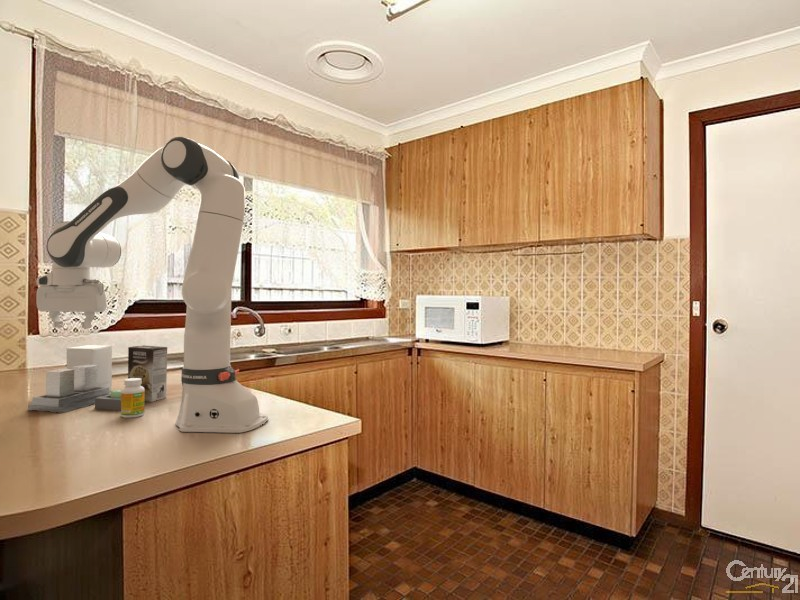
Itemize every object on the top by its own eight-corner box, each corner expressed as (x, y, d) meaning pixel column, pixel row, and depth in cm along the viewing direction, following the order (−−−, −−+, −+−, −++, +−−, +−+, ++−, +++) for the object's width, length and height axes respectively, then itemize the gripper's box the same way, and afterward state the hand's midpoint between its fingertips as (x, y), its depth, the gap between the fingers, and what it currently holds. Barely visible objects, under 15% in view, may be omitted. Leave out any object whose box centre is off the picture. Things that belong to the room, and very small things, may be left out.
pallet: (112, 398, 140) (113, 364, 139) (61, 412, 123) (61, 374, 123) (82, 396, 142) (82, 362, 142) (28, 410, 125) (28, 371, 125)
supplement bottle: (133, 418, 119) (134, 381, 119) (115, 417, 120) (116, 380, 120) (148, 413, 124) (149, 378, 124) (131, 412, 125) (132, 376, 125)
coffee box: (126, 400, 139) (126, 347, 138) (143, 395, 145) (143, 344, 145) (151, 402, 136) (152, 348, 136) (167, 397, 143) (168, 346, 142)
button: (129, 400, 133) (130, 390, 133) (118, 403, 129) (119, 392, 129) (118, 399, 133) (118, 389, 133) (106, 402, 129) (106, 392, 129)
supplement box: (112, 390, 151) (113, 345, 151) (91, 396, 142) (92, 348, 142) (87, 389, 152) (88, 344, 152) (65, 395, 143) (65, 347, 143)
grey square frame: (141, 403, 134) (141, 393, 134) (119, 410, 126) (119, 399, 126) (117, 402, 136) (117, 392, 136) (94, 408, 128) (94, 398, 128)
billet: (74, 400, 130) (74, 369, 130) (59, 404, 126) (59, 372, 126) (61, 399, 131) (61, 368, 131) (45, 403, 127) (46, 371, 126)
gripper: (112, 279, 131) (112, 327, 131) (52, 279, 135) (52, 326, 135) (93, 278, 125) (94, 329, 125) (31, 279, 128) (32, 328, 129)
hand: (72, 327), depth 130 cm, fingers open, 8 cm apart
